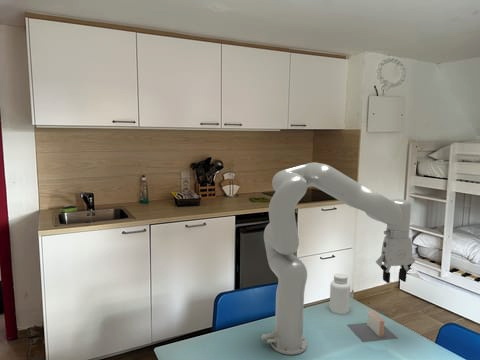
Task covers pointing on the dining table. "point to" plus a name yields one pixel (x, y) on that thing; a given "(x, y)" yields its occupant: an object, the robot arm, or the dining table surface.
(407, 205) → the robot arm
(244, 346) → the dining table surface
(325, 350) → the dining table surface
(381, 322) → the tile
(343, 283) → the pill bottle
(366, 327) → the mat
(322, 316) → the dining table surface
